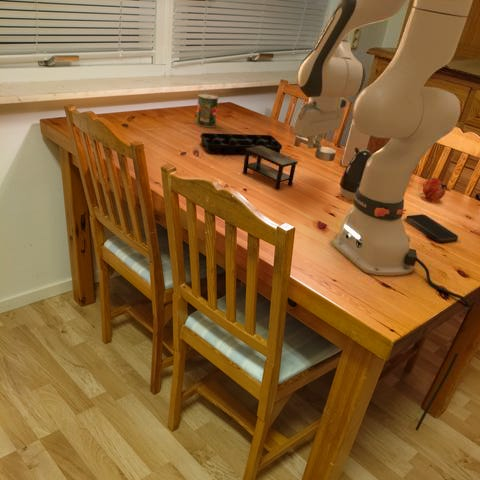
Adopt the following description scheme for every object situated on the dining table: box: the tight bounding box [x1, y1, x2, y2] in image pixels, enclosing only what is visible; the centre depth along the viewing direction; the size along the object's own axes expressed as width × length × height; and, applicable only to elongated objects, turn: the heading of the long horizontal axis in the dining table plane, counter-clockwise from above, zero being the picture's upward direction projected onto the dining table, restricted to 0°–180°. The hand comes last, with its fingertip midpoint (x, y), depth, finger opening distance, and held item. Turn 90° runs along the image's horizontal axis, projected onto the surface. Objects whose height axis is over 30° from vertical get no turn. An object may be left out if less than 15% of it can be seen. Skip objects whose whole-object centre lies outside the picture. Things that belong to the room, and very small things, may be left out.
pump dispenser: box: [339, 148, 373, 202], centre depth 149 cm, size 10×10×15 cm
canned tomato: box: [195, 92, 219, 128], centre depth 194 cm, size 8×8×11 cm
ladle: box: [294, 135, 337, 162], centre depth 151 cm, size 15×6×3 cm, turn 45°
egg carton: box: [200, 132, 283, 156], centre depth 177 cm, size 18×30×4 cm, turn 120°
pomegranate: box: [421, 177, 448, 202], centre depth 160 cm, size 7×7×10 cm
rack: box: [242, 145, 298, 190], centre depth 155 cm, size 16×8×8 cm, turn 45°
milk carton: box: [341, 119, 371, 168], centre depth 174 cm, size 7×7×19 cm
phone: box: [405, 213, 459, 244], centre depth 141 cm, size 8×1×15 cm
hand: (313, 147), depth 151 cm, fingers closed on ladle
